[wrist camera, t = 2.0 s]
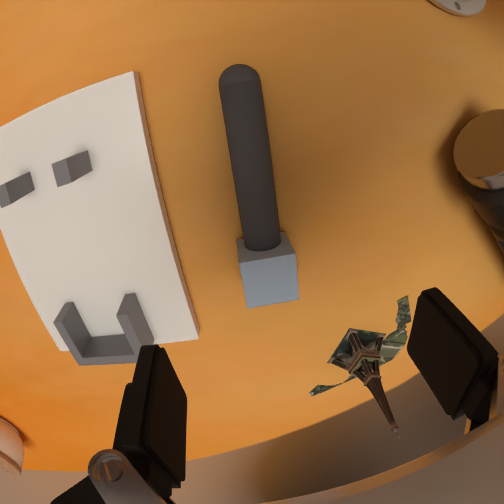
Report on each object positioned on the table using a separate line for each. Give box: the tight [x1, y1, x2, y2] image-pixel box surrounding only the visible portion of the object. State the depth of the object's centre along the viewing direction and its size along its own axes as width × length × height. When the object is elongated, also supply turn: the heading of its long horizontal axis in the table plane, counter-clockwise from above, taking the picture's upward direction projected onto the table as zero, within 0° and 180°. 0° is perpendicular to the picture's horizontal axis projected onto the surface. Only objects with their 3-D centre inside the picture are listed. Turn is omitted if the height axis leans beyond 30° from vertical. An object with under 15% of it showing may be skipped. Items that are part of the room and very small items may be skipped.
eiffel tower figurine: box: [309, 296, 411, 439], centre depth 27 cm, size 15×10×13 cm
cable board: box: [0, 71, 200, 365], centre depth 21 cm, size 23×16×5 cm
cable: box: [219, 64, 299, 309], centre depth 21 cm, size 17×4×4 cm, turn 8°
